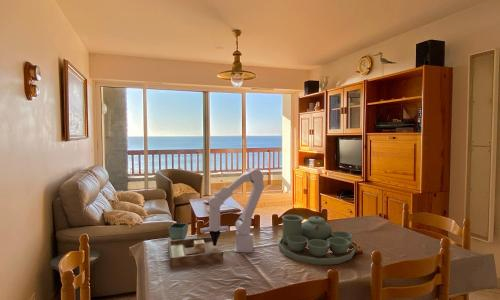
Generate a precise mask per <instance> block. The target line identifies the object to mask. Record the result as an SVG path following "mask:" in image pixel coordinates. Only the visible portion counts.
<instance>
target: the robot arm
mask: <svg viewBox="0 0 500 300" xmlns="http://www.w3.org/2000/svg"><path fill="white" fill-rule="evenodd" d="M244 183H251V184H252V186H253V188H252V190H251V192H250V193H249V197H248V199H247V202H246V205H245V206H244V209H243V212H242V213H241V214H240V215H239V217H238V218H237V220H236V221H235V223H234V227H235V229H236V231H235V248H234V250H233V251H234V253H253V249H254V233H251V226H252V217H253V215H254V212H255V210H256V207H257V205H258V203H259V201H260V198H261V195H262V194H263V190H264V188H265V185H264V174H263V173H262V171H261V170H259V169H258V168H257V169H256V168H255V167H248V169H246V170H245V171H243V172H242V173H241V175H239V177H237V178H236V179H235V180H234V181H233V182H232V183H231V184H230V185H228V186H222V187H221V188H220V190H219V191H218V192H217V193H213V195H212V196H210V197H209V199H208V201H207V203H208V205H209V207H208V208H209V211H208V227H202V228H201V227H200V234H204V233H209V235H210V237H211V238H212V241H213V246H216V244H217V243H218V239H219V238H220V236H221V232H224V231H225V232H229V230H230V227H229V226H228V225H224V226H223V225H222V226H221V206H222V203H223V204H224V202H225V201H227V199H229V198H230V197H231V196H232V195H233V192H234V191H235V190H237V189H238V188H239V187H240V186H242V185H243V184H244ZM217 245H218V244H217Z"/></svg>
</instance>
